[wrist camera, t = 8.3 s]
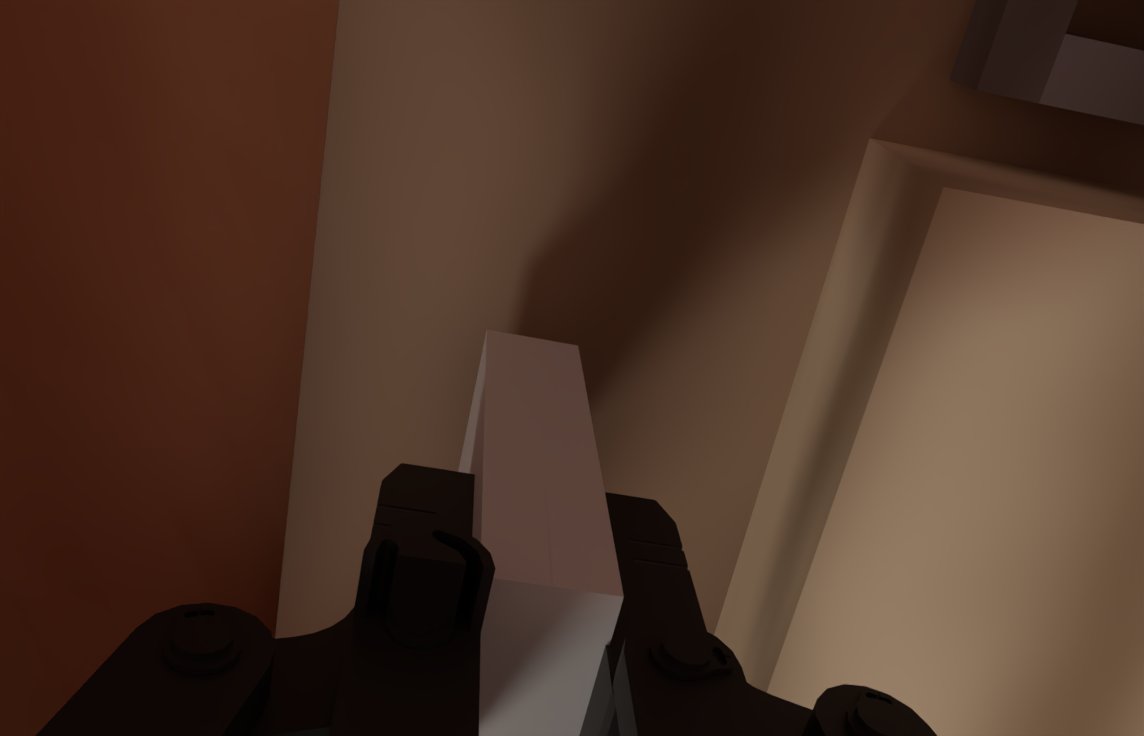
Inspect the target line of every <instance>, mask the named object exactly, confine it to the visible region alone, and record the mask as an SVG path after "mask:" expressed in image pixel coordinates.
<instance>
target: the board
mask: <svg viewBox="0 0 1144 736" xmlns="http://www.w3.org/2000/svg"><path fill="white" fill-rule="evenodd" d="M870 138H871V139H877V140H882V141H887V142H892V143H898V144H903V145H908V146H913V147H918V148H924V149H929V150H934V151H939V152H945V153H950V154H955V155H960V156H965V157H971V158H976V159H981V160H986V161H992V162H997V163H1002V164H1007V165H1013V166H1018V167H1023V168H1028V169H1033V170H1039V171H1044V172H1049V173H1054V174H1060V175H1065V176H1070V177H1075V178H1080V179H1086V180H1091V181H1096V182H1101V183H1107V184H1112V185H1117V186H1122V187H1127V188H1133V189H1138V190H1143V191H1144V0H339V9H338V19H337V29H336V39H335V49H334V59H333V69H332V78H331V88H330V98H329V108H328V118H327V128H326V138H325V148H324V158H323V168H322V177H321V187H320V197H319V207H318V217H317V227H316V237H315V247H314V257H313V266H312V276H311V286H310V296H309V306H308V316H307V326H306V336H305V346H304V356H303V365H302V375H301V385H300V395H299V405H298V415H297V425H296V435H295V445H294V455H293V464H292V474H291V484H290V494H289V504H288V514H287V524H286V534H285V544H284V553H283V563H282V573H281V583H280V593H279V603H278V613H277V623H276V633H275V639H276V638H286V637H295V636H300V635H306V634H311V633H315V632H318V631H320V630H323V629H326V628H328V627H331V626H333V625H334V624H336V623H337V622H339V621H340V620H342V619H343V618H345V617H346V616H347V614H348V613H349V612H350V611H351V610H352V609H353V608H354V606H355V600H356V594H357V588H358V582H359V576H360V570H361V564H362V558H363V552H364V549H365V547H366V545H367V543H368V542H369V540H370V537H371V532H372V527H373V522H374V517H375V512H376V508H377V502H378V497H379V492H380V487H381V482H382V480H383V479H384V478H385V477H386V476H387V475H388V474H390V473H391V472H392V471H393V470H394V469H395V468H396V467H397V466H398V465H400V464H401V463H406V464H412V465H418V466H425V467H431V468H438V469H444V470H450V471H457V472H458V470H459V465H460V460H461V455H462V450H463V445H464V440H465V435H466V430H467V425H468V420H469V415H470V410H471V405H472V400H473V395H474V390H475V385H476V380H477V375H478V370H479V365H480V360H481V355H482V350H483V345H484V340H485V336H486V331H487V330H493V331H499V332H504V333H510V334H516V335H521V336H527V337H532V338H538V339H544V340H549V341H555V342H560V343H566V344H572V345H577V346H578V348H579V353H580V359H581V364H582V370H583V375H584V381H585V386H586V392H587V397H588V403H589V408H590V414H591V419H592V425H593V430H594V436H595V441H596V447H597V452H598V458H599V463H600V469H601V474H602V480H603V485H604V491H605V492H608V493H615V494H621V495H627V496H634V497H640V498H647V499H653V500H656V501H657V502H658V503H659V504H660V506H661V507H662V508H663V509H664V510H665V511H666V512H667V513H668V515H669V516H670V517H671V518H672V519H673V520H674V521H675V522H676V525H677V529H678V532H679V536H680V539H681V542H682V546H683V547H682V551H684V553H685V556H686V560H687V563H688V570H690V574H691V577H692V581H693V584H694V588H695V591H696V595H697V598H698V601H699V605H700V608H701V612H702V615H703V619H704V622H705V626H706V629H707V632H709V633H711V634H712V635H714V634H715V630H716V627H717V624H718V621H719V618H720V614H721V611H722V608H723V605H724V602H725V598H726V595H727V592H728V589H729V586H730V583H731V579H732V576H733V573H734V570H735V567H736V563H737V560H738V557H739V554H740V551H741V547H742V544H743V541H744V538H745V535H746V531H747V528H748V525H749V522H750V519H751V515H752V512H753V509H754V506H755V503H756V500H757V496H758V493H759V490H760V487H761V484H762V480H763V477H764V474H765V471H766V468H767V464H768V461H769V458H770V455H771V452H772V448H773V445H774V442H775V439H776V436H777V433H778V429H779V426H780V423H781V420H782V417H783V413H784V410H785V407H786V404H787V401H788V397H789V394H790V391H791V388H792V385H793V381H794V378H795V375H796V372H797V369H798V365H799V362H800V359H801V356H802V353H803V350H804V346H805V343H806V340H807V337H808V334H809V330H810V327H811V324H812V321H813V318H814V314H815V311H816V308H817V305H818V302H819V298H820V295H821V292H822V289H823V286H824V283H825V279H826V276H827V273H828V270H829V267H830V263H831V260H832V257H833V254H834V251H835V247H836V244H837V241H838V238H839V235H840V231H841V228H842V225H843V222H844V219H845V216H846V212H847V209H848V206H849V203H850V200H851V196H852V193H853V190H854V187H855V184H856V180H857V177H858V174H859V171H860V168H861V164H862V161H863V158H864V155H865V152H866V148H867V145H868V142H869V139H870Z"/></svg>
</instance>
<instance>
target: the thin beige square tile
mask: <svg viewBox="0 0 1144 736" xmlns="http://www.w3.org/2000/svg"><path fill="white" fill-rule="evenodd" d="M714 636H716V637H718V638H719V639H720V640H721V641H722V642H723V643H724V644H725V645H726V646H728V647H729V648H730V649H731V650H732V651H733V652H734V654H735V656H736V658H737V659H738V661H739V663H740V665H741V666H742V669H743V672H744V675H745V678H746V681H747V683H749V684H750V685H752V686H754V687H755V688H758V689H760V690H762V691H764V692H766V693H769V694H771V695H773V696H776V697H779V698H781V699H784V700H787V701H790V702H792V703H795V704H798V705H801V706H803V707H806V708H809V709H811V710H813V708H814V705H815V703H816V700H817V698H818V697H819V696H820V695H821V694H822V693H823V692H824V691H825V690H826V689H827V688H831V687H835V686H839V685H843V684H849V685H859V686H867V687H869V688H872V689H875V690H878V691H881V692H883V693H886V694H889V695H891V696H892V697H894V698H896V699H897V700H899V701H900V702H902V703H904V704H905V705H907V706H908V707H910V708H912V709H913V710H914V711H915V712H916V713H917V714H918V715H919V716H920V717H921V718H922V719H923V720H924V721H925V722H926V723H927V724H928V725H929V726H930V727H931V728H932V730H933V731H934V732H935V734H936V735H937V736H1144V191H1143V190H1138V189H1133V188H1127V187H1122V186H1117V185H1112V184H1107V183H1101V182H1096V181H1091V180H1086V179H1080V178H1075V177H1070V176H1065V175H1060V174H1054V173H1049V172H1044V171H1039V170H1033V169H1028V168H1023V167H1018V166H1013V165H1007V164H1002V163H997V162H992V161H986V160H981V159H976V158H971V157H965V156H960V155H955V154H950V153H945V152H939V151H934V150H929V149H924V148H918V147H913V146H908V145H903V144H898V143H892V142H887V141H882V140H877V139H871V138H870V139H869V142H868V145H867V148H866V152H865V155H864V158H863V161H862V164H861V168H860V171H859V174H858V177H857V180H856V184H855V187H854V190H853V193H852V196H851V200H850V203H849V206H848V209H847V212H846V216H845V219H844V222H843V225H842V228H841V231H840V235H839V238H838V241H837V244H836V247H835V251H834V254H833V257H832V260H831V263H830V267H829V270H828V273H827V276H826V279H825V283H824V286H823V289H822V292H821V295H820V298H819V302H818V305H817V308H816V311H815V314H814V318H813V321H812V324H811V327H810V330H809V334H808V337H807V340H806V343H805V346H804V350H803V353H802V356H801V359H800V362H799V365H798V369H797V372H796V375H795V378H794V381H793V385H792V388H791V391H790V394H789V397H788V401H787V404H786V407H785V410H784V413H783V417H782V420H781V423H780V426H779V429H778V433H777V436H776V439H775V442H774V445H773V448H772V452H771V455H770V458H769V461H768V464H767V468H766V471H765V474H764V477H763V480H762V484H761V487H760V490H759V493H758V496H757V500H756V503H755V506H754V509H753V512H752V515H751V519H750V522H749V525H748V528H747V531H746V535H745V538H744V541H743V544H742V547H741V551H740V554H739V557H738V560H737V563H736V567H735V570H734V573H733V576H732V579H731V583H730V586H729V589H728V592H727V595H726V598H725V602H724V605H723V608H722V611H721V614H720V618H719V621H718V624H717V627H716V630H715V634H714Z"/></svg>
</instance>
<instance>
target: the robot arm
mask: <svg viewBox="0 0 1144 736" xmlns="http://www.w3.org/2000/svg"><path fill="white" fill-rule="evenodd" d="M682 547H683V546H682V542H681V539H680V536H679V532H678V529H677V525H676V522H675V521H674V520H673V519H672V518H671V517H670V516H669V515H668V513H667V512H666V511H665V510H664V509H663V508H662V507H661V506H660V504H659V503H658V502H657V501H656V500H653V499H647V498H640V497H634V496H627V495H621V494H615V493H608V492H605V491H604V485H603V480H602V474H601V469H600V463H599V458H598V452H597V447H596V441H595V436H594V430H593V425H592V419H591V414H590V408H589V403H588V397H587V392H586V386H585V381H584V375H583V370H582V364H581V359H580V353H579V348H578V346H577V345H572V344H566V343H560V342H555V341H549V340H544V339H538V338H532V337H527V336H521V335H516V334H510V333H504V332H499V331H493V330H487V331H486V336H485V340H484V345H483V350H482V355H481V360H480V365H479V370H478V375H477V380H476V385H475V390H474V395H473V400H472V405H471V410H470V415H469V420H468V425H467V430H466V435H465V440H464V445H463V450H462V455H461V460H460V465H459V470H458V472H457V471H450V470H444V469H438V468H431V467H425V466H418V465H412V464H406V463H401V464H400V465H398V466H397V467H396V468H395V469H394V470H393V471H392V472H391V473H390V474H388V475H387V476H386V477H385V478H384V479H383V480H382V482H381V487H380V492H379V497H378V502H377V508H376V512H375V517H374V522H373V527H372V532H371V537H370V540H369V542H368V543H367V545H366V547H365V549H364V552H363V558H362V564H361V570H360V576H359V582H358V588H357V594H356V600H355V606H354V608H353V609H352V610H351V611H350V612H349V613H348V614H347V616H346V617H345V618H343V619H342V620H340V621H339V622H337V623H336V624H334V625H333V626H331V627H328V628H326V629H323V630H320V631H318V632H315V633H311V634H306V635H300V636H295V637H286V638H276V639H272V635H271V631H270V630H269V629H268V628H267V627H266V626H265V625H264V624H263V623H262V622H261V621H260V620H259V619H258V618H257V617H256V616H253V615H251V614H249V613H247V612H245V611H243V610H240V609H238V608H236V607H232V606H226V605H219V604H213V603H201V604H189V605H180V606H177V607H174V608H172V609H169V610H166V611H163V612H160V613H157V614H155V615H154V616H152V617H151V618H150V619H148V620H147V621H145V622H144V623H143V624H141V625H140V626H139V627H137V628H136V629H135V630H134V631H133V632H132V633H131V634H130V635H129V637H128V638H127V639H126V640H125V641H124V642H123V643H122V644H121V645H120V646H119V647H118V648H117V649H116V650H115V652H114V653H113V654H112V655H111V656H110V657H109V658H108V659H107V660H106V661H105V662H104V663H103V664H102V665H101V666H100V668H99V669H98V670H97V671H96V672H95V673H94V674H93V675H92V676H91V677H90V678H89V679H88V680H87V681H86V683H85V684H84V685H83V686H82V687H81V688H80V689H79V690H78V691H77V692H76V693H75V694H74V695H73V696H72V698H71V699H70V700H69V701H68V702H67V703H66V704H65V705H64V706H63V707H62V708H61V709H60V710H59V711H58V713H57V714H56V715H55V716H54V717H53V718H52V719H51V720H50V721H49V722H48V723H47V724H46V725H45V726H44V728H43V729H42V730H41V731H40V732H39V733H38V734H37V735H36V736H937V735H936V734H935V732H934V731H933V730H932V728H931V727H930V726H929V725H928V724H927V723H926V722H925V721H924V720H923V719H922V718H921V717H920V716H919V715H918V714H917V713H916V712H915V711H914V710H913V709H912V708H910V707H908V706H907V705H905V704H904V703H902V702H900V701H899V700H897V699H896V698H894V697H892V696H891V695H889V694H886V693H883V692H881V691H878V690H875V689H872V688H869V687H867V686H859V685H849V684H843V685H839V686H835V687H831V688H827V689H826V690H825V691H824V692H823V693H822V694H821V695H820V696H819V697H818V698H817V700H816V703H815V705H814V708H813V710H811V709H809V708H806V707H803V706H801V705H798V704H795V703H792V702H790V701H787V700H784V699H781V698H779V697H776V696H773V695H771V694H769V693H766V692H764V691H762V690H760V689H758V688H755V687H754V686H752V685H750V684H749V683H747V681H746V678H745V675H744V672H743V669H742V666H741V665H740V663H739V661H738V659H737V658H736V656H735V654H734V652H733V651H732V650H731V649H730V648H729V647H728V646H726V645H725V644H724V643H723V642H722V641H721V640H720V639H719V638H718V637H716V636H714V635H712V634H711V633H709V632H707V629H706V626H705V622H704V619H703V615H702V612H701V608H700V605H699V601H698V598H697V595H696V591H695V588H694V584H693V581H692V577H691V574H690V570H688V563H687V560H686V556H685V553H684V551H682Z"/></svg>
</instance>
